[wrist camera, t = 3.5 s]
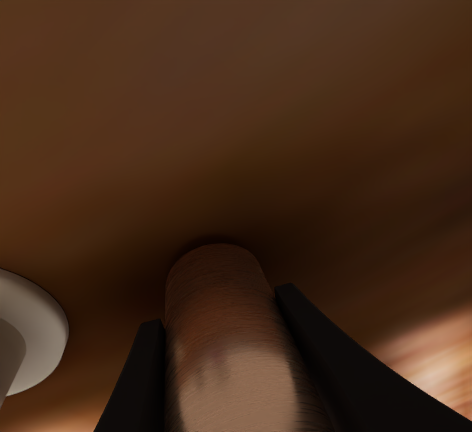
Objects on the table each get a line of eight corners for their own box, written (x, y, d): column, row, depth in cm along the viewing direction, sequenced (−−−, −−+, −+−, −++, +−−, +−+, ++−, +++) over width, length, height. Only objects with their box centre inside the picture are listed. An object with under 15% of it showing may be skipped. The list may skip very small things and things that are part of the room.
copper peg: (280, 266, 12) (396, 478, 6) (226, 327, 13) (277, 557, 7) (201, 227, 10) (251, 473, 4) (146, 301, 11) (122, 581, 5)
